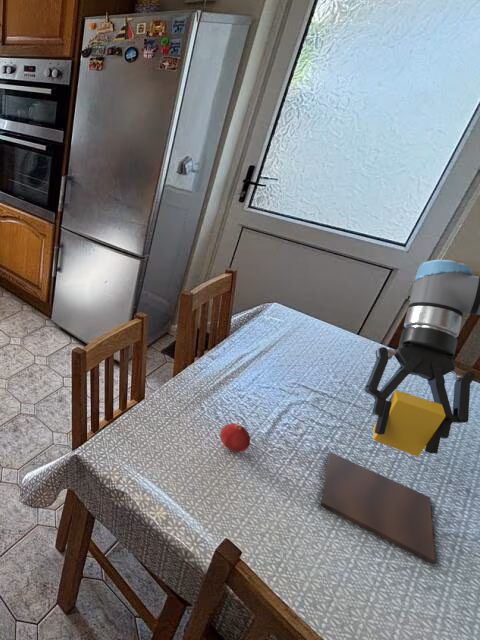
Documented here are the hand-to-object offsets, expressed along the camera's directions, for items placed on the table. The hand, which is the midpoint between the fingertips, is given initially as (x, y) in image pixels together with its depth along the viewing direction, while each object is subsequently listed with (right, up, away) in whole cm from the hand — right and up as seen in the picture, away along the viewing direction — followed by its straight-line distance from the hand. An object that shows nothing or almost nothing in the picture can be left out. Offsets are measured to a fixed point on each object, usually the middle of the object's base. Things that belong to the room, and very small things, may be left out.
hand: (404, 442), depth 79 cm
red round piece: (-23, -9, +17) cm, 30 cm away
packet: (+2, -2, +4) cm, 5 cm away
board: (-1, -15, +5) cm, 16 cm away
